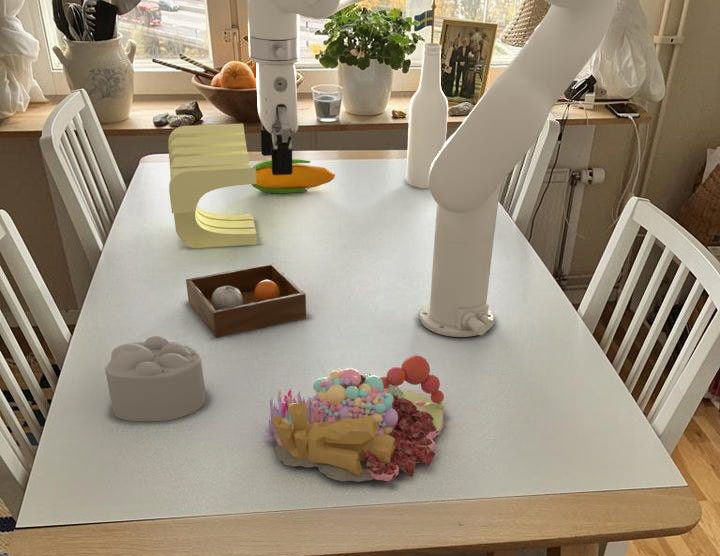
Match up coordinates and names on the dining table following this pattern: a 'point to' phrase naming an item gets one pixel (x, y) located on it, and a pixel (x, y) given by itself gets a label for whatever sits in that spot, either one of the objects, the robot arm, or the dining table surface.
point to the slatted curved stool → (209, 183)
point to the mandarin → (266, 291)
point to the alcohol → (426, 119)
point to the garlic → (226, 298)
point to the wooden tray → (246, 300)
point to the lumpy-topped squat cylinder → (155, 380)
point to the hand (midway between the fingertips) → (276, 164)
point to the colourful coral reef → (361, 423)
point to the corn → (290, 177)
